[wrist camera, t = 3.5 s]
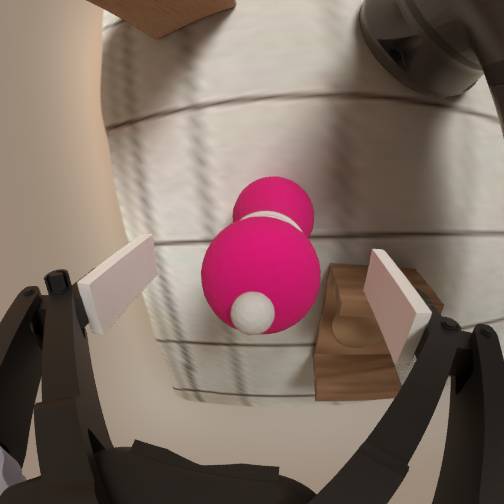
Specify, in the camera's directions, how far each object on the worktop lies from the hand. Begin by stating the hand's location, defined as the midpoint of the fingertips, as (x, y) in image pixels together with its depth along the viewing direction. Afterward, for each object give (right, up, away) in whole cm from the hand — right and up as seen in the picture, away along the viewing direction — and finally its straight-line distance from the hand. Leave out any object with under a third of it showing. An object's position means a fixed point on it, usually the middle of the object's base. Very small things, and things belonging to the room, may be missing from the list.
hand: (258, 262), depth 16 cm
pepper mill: (+2, +5, +13) cm, 14 cm away
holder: (+14, -8, +16) cm, 23 cm away
